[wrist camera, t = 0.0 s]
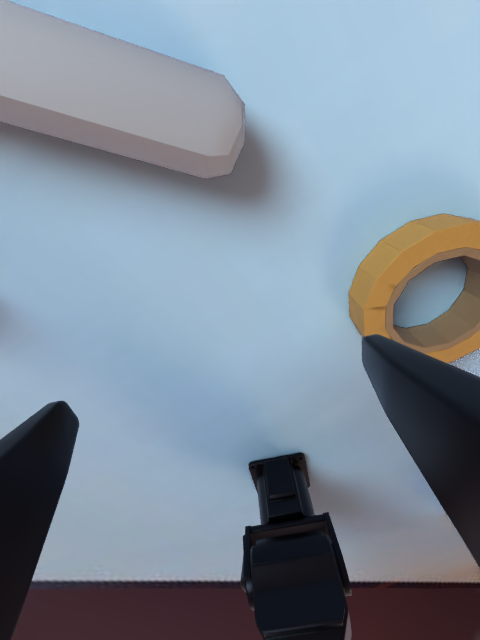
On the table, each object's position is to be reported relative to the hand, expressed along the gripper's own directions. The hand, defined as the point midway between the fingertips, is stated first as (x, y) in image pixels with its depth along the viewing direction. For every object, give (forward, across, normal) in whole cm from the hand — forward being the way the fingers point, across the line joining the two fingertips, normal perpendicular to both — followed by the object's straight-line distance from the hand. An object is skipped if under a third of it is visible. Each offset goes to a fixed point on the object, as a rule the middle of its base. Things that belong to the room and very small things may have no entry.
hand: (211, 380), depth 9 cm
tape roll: (+15, -15, +7) cm, 22 cm away
